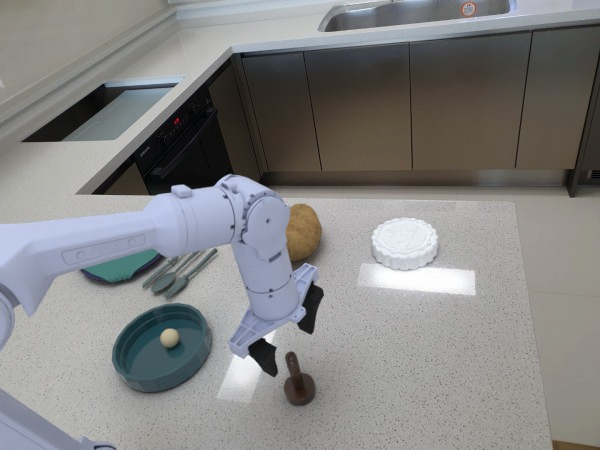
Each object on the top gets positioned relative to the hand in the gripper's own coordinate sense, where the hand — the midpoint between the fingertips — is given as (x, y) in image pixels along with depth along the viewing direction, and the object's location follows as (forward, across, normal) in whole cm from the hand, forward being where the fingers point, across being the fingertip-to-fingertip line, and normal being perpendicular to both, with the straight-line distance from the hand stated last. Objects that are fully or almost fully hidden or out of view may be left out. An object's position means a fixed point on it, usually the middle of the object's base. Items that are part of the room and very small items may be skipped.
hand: (289, 350), depth 60 cm
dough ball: (+7, -4, +24) cm, 25 cm away
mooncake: (+10, +34, +2) cm, 35 cm away
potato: (+10, +25, +20) cm, 33 cm away
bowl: (+9, -6, +24) cm, 26 cm away
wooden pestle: (+9, 0, 0) cm, 9 cm away
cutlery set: (+10, +7, +48) cm, 49 cm away
